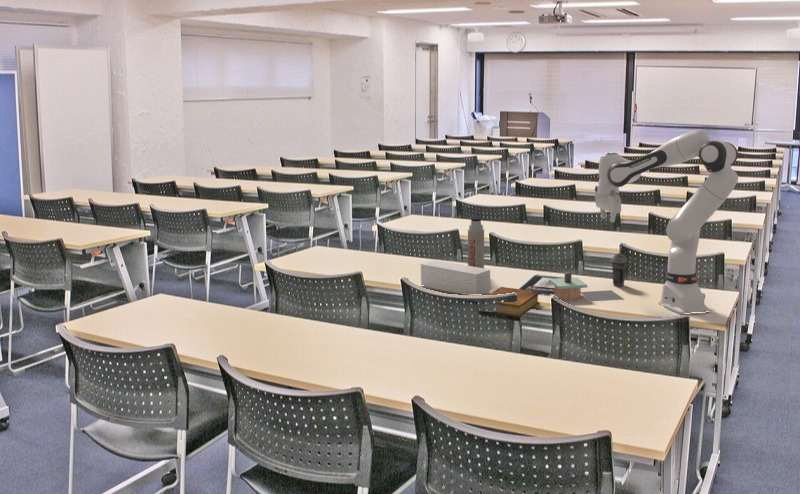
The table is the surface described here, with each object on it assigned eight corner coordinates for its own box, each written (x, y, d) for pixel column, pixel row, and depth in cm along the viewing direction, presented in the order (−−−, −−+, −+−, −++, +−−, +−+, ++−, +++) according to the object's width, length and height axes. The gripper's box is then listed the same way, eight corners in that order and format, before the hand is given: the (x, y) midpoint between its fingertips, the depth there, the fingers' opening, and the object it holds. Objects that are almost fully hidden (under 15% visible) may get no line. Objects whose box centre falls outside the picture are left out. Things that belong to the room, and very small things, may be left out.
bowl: (583, 300, 358) (584, 287, 356) (559, 301, 356) (559, 288, 355) (575, 293, 368) (575, 280, 367) (551, 294, 367) (551, 281, 366)
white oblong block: (490, 292, 374) (490, 269, 371) (476, 297, 366) (476, 274, 364) (435, 281, 394) (434, 259, 392) (421, 286, 386) (420, 264, 384)
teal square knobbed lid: (587, 287, 356) (587, 275, 354) (558, 289, 354) (558, 277, 353) (576, 280, 368) (577, 268, 367) (548, 281, 366) (549, 270, 365)
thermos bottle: (475, 276, 400) (475, 220, 394) (464, 273, 407) (464, 218, 400) (487, 274, 405) (487, 218, 399) (476, 271, 411) (476, 216, 405)
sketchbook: (516, 293, 373) (516, 289, 372) (535, 277, 399) (535, 273, 399) (563, 298, 364) (563, 293, 363) (579, 281, 390) (579, 277, 389)
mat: (624, 300, 356) (624, 299, 356) (591, 302, 354) (591, 301, 354) (611, 291, 371) (611, 290, 370) (579, 293, 369) (579, 292, 368)
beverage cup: (625, 284, 382) (626, 242, 378) (627, 288, 375) (629, 246, 370) (609, 284, 383) (610, 242, 378) (611, 288, 376) (613, 245, 371)
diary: (499, 299, 364) (499, 286, 363) (539, 304, 355) (539, 291, 354) (477, 312, 345) (478, 299, 343) (519, 318, 336) (519, 304, 334)
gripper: (625, 192, 354) (624, 223, 357) (606, 186, 374) (605, 216, 377) (611, 193, 353) (610, 224, 356) (593, 187, 373) (592, 217, 376)
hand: (608, 220), depth 367 cm, fingers open, 8 cm apart
